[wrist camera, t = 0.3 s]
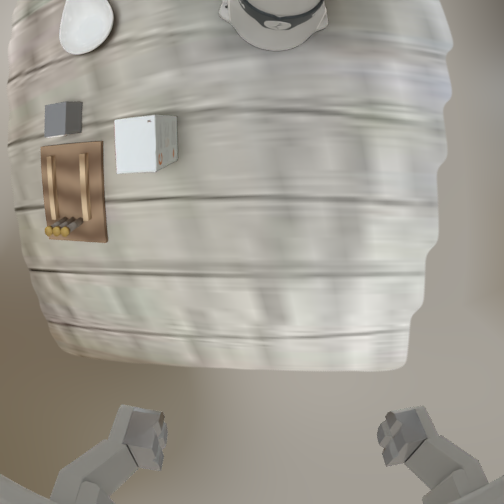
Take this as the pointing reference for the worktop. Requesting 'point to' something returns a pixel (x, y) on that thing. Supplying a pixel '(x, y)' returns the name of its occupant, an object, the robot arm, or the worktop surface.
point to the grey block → (63, 119)
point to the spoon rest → (85, 25)
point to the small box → (145, 143)
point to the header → (74, 191)
